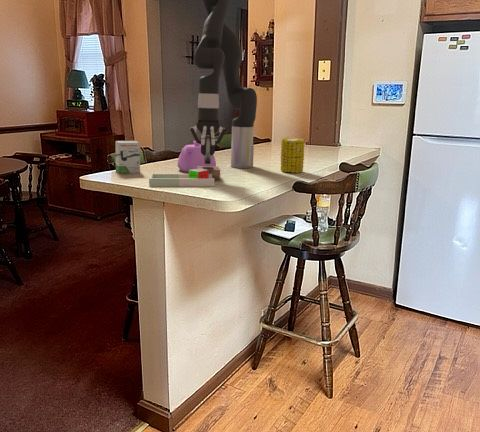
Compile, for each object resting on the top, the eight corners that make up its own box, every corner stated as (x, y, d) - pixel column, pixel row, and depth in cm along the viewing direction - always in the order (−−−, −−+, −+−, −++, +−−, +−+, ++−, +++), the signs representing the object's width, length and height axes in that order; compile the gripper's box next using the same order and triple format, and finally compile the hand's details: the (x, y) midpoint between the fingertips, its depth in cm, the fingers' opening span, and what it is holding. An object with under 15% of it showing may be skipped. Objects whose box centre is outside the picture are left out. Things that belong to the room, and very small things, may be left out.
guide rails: (211, 180, 172) (211, 173, 171) (214, 186, 162) (214, 178, 161) (178, 180, 170) (178, 173, 169) (179, 186, 160) (179, 178, 160)
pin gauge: (210, 163, 175) (211, 135, 173) (211, 163, 173) (211, 136, 170) (204, 162, 175) (204, 135, 172) (204, 163, 172) (204, 136, 170)
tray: (178, 180, 170) (178, 173, 169) (179, 186, 160) (179, 178, 160) (150, 180, 168) (150, 173, 168) (149, 186, 159) (149, 178, 158)
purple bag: (200, 176, 180) (200, 144, 177) (165, 172, 186) (165, 141, 183) (225, 168, 199) (226, 140, 196) (194, 165, 206) (194, 137, 203)
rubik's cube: (197, 185, 162) (198, 171, 161) (188, 183, 165) (188, 169, 164) (208, 184, 166) (208, 170, 164) (199, 182, 169) (199, 168, 168)
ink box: (118, 173, 180) (117, 142, 177) (115, 171, 184) (114, 140, 181) (141, 172, 184) (140, 141, 181) (137, 170, 188) (136, 140, 185)
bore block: (217, 176, 180) (217, 166, 179) (219, 180, 172) (220, 169, 171) (196, 176, 178) (196, 166, 177) (197, 180, 171) (198, 169, 170)
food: (303, 174, 200) (297, 179, 191) (277, 166, 203) (270, 170, 194) (313, 140, 194) (308, 143, 185) (287, 131, 197) (280, 134, 188)
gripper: (226, 107, 173) (225, 154, 178) (188, 105, 171) (188, 153, 176) (229, 107, 166) (227, 156, 170) (189, 106, 164) (188, 156, 168)
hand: (207, 154), depth 173 cm, fingers closed on pin gauge, 2 cm apart
